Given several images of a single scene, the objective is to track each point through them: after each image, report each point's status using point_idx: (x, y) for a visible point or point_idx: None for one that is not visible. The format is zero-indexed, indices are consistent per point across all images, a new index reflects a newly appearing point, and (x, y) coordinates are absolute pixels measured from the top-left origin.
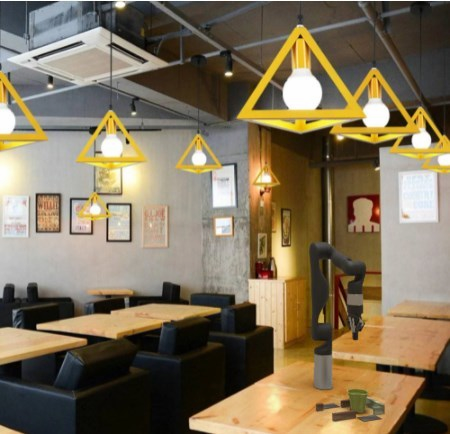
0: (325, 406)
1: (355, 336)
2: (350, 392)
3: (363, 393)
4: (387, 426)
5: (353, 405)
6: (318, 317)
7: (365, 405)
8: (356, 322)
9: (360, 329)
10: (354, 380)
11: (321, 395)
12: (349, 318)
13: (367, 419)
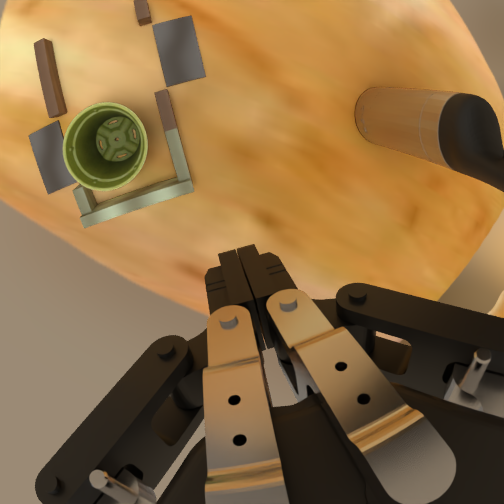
0: (173, 39)
1: (209, 288)
2: (135, 122)
3: (127, 175)
4: (2, 193)
5: (97, 120)
6: None
7: (98, 164)
8: (176, 488)
9: (172, 409)
10: (405, 234)
11: (302, 69)
12: (442, 448)
13: (39, 148)
